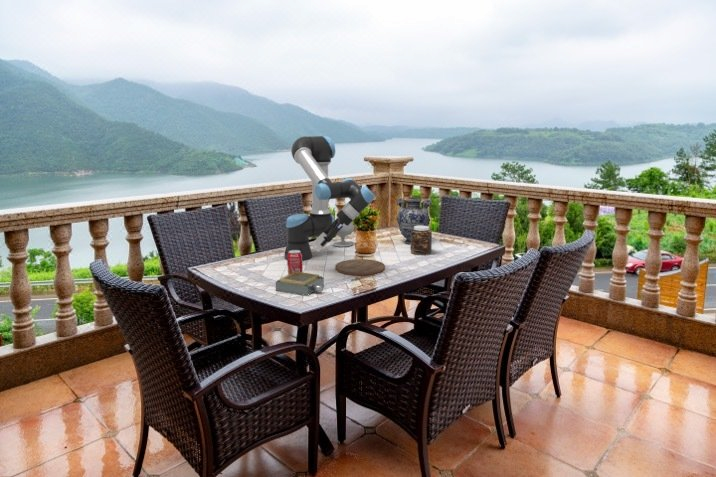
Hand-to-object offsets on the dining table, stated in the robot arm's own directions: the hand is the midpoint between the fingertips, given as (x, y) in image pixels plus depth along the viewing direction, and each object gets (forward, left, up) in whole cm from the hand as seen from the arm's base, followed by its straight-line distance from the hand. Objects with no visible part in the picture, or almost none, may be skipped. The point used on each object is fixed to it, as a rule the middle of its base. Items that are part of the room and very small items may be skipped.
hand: (316, 246), depth 224 cm
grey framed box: (+5, -20, -14) cm, 25 cm away
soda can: (-9, -5, -14) cm, 18 cm away
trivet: (+14, +19, -15) cm, 28 cm away
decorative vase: (+20, +84, -14) cm, 88 cm away
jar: (+32, +62, -14) cm, 71 cm away
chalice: (-17, +61, -14) cm, 65 cm away
